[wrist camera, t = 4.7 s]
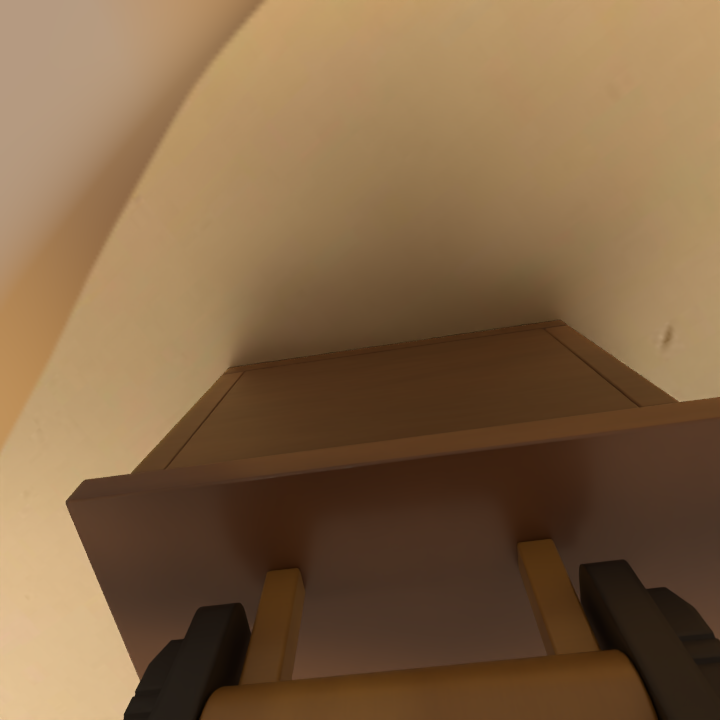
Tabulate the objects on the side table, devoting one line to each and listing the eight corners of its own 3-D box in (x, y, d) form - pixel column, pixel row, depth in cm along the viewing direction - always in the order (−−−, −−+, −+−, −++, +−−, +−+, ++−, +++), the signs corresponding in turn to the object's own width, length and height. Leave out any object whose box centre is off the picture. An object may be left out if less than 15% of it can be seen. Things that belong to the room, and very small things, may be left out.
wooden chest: (228, 367, 22) (128, 474, 13) (560, 319, 21) (683, 402, 12) (303, 688, 26) (263, 927, 18) (583, 662, 25) (686, 902, 16)
